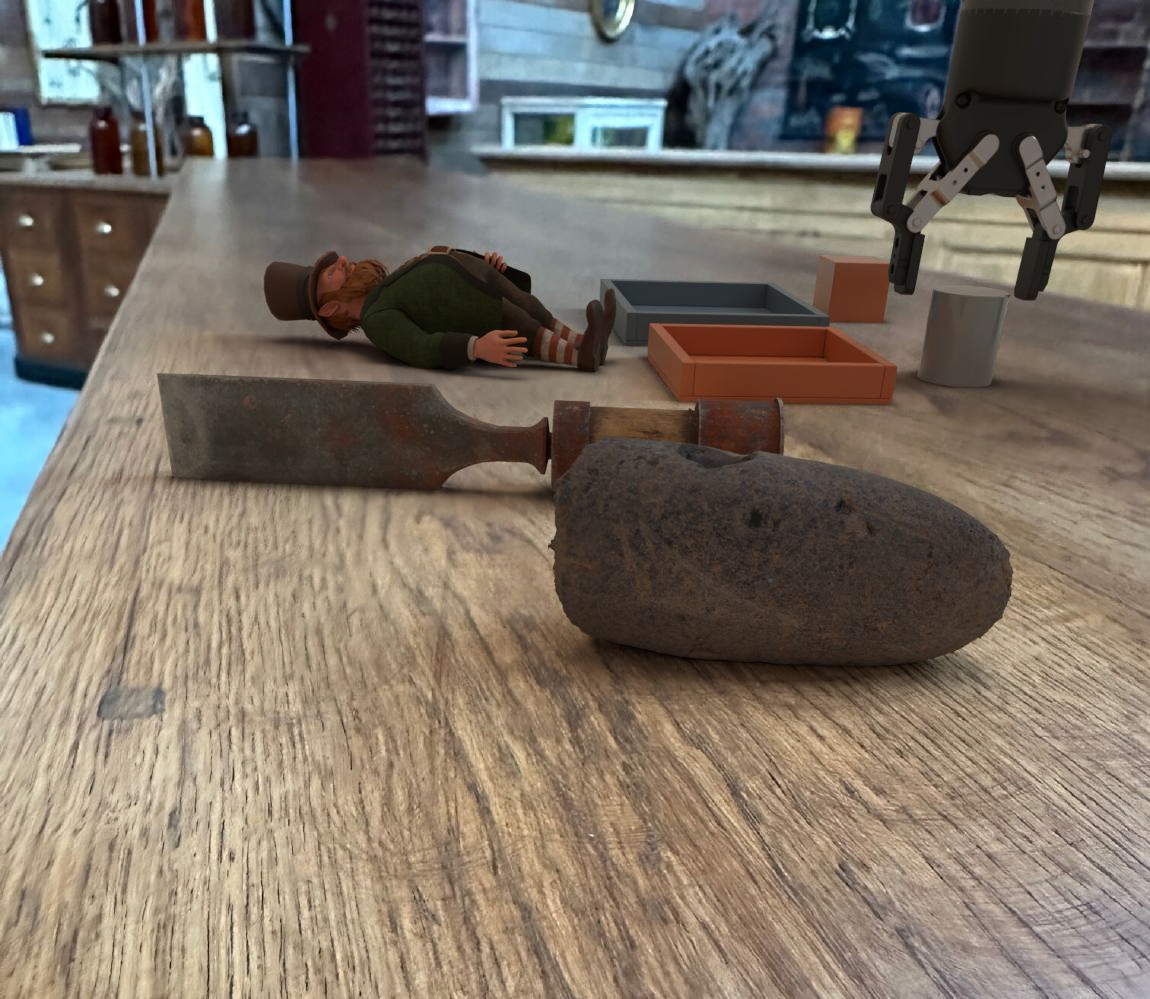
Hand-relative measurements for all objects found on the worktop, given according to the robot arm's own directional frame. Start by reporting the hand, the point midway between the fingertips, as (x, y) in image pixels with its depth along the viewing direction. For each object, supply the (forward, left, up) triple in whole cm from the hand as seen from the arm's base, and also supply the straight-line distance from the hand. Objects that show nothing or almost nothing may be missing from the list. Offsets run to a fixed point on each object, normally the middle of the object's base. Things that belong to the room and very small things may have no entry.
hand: (964, 296), depth 76 cm
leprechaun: (+36, -5, -6) cm, 36 cm away
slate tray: (+14, -19, -6) cm, 24 cm away
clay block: (0, -25, -6) cm, 25 cm away
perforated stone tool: (+24, +44, -6) cm, 50 cm away
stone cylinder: (0, 0, -6) cm, 6 cm away
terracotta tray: (+14, +1, -6) cm, 15 cm away
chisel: (+34, +26, -6) cm, 43 cm away
